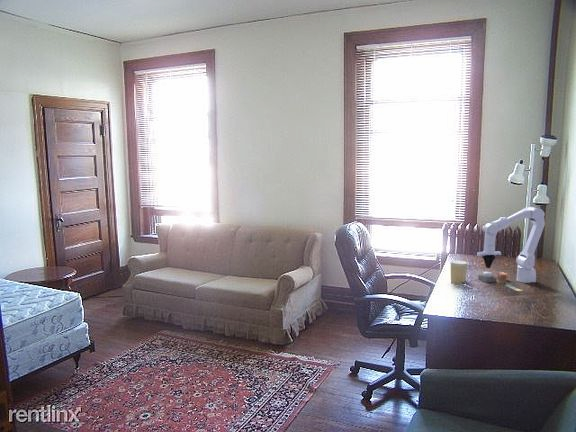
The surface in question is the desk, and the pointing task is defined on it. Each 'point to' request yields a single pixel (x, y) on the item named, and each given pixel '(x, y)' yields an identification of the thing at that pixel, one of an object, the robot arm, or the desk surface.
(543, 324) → the desk surface
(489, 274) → the dome
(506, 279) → the die
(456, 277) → the coffee cup
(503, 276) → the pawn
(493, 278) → the board
